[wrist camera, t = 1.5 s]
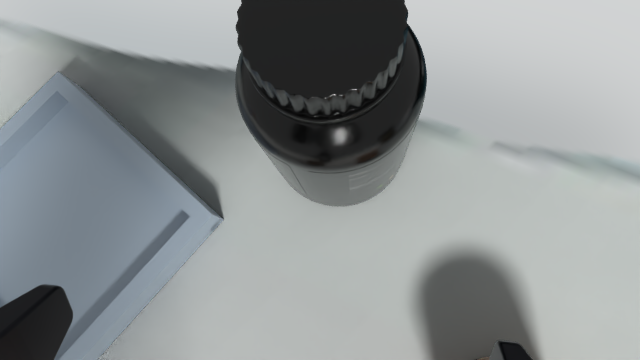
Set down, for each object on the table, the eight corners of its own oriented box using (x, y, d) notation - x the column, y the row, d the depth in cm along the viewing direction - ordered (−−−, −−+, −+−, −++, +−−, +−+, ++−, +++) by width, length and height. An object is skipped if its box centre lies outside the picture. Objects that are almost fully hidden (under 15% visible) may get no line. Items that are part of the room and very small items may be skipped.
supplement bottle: (404, 85, 24) (446, -93, 13) (404, 210, 23) (449, 139, 11) (280, 85, 25) (211, -86, 13) (272, 206, 24) (185, 134, 12)
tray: (223, 219, 24) (212, 214, 22) (59, 401, 22) (33, 412, 21) (78, 85, 26) (58, 71, 24) (-78, 242, 25) (-111, 239, 23)
